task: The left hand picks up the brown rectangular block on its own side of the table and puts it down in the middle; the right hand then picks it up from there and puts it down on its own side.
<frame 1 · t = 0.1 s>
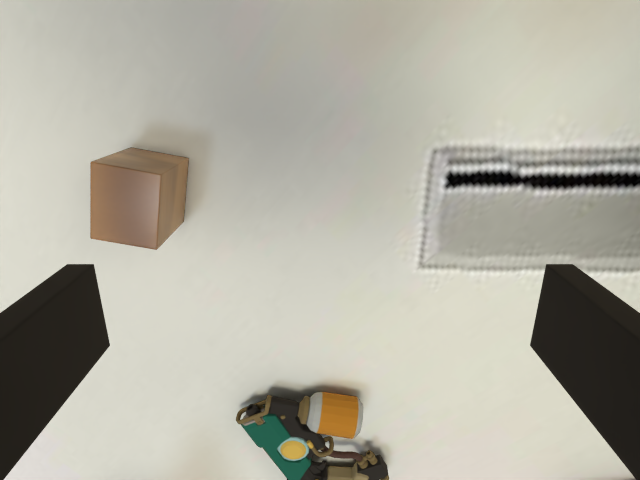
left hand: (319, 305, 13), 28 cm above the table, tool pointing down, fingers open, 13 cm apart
spray gun: (316, 436, 50), on the table
brown rectangular block: (158, 185, 40), on the table
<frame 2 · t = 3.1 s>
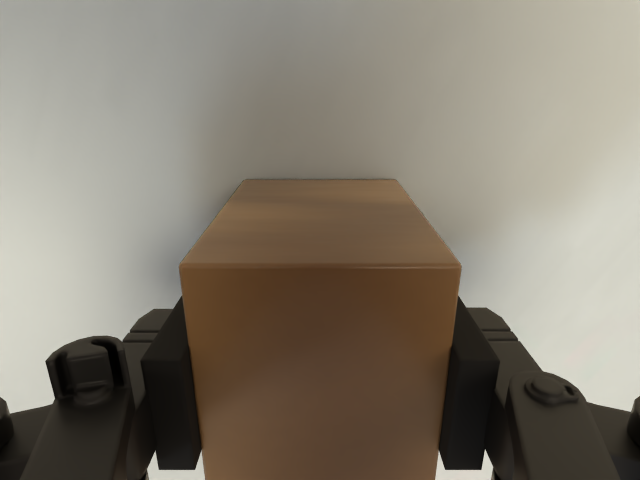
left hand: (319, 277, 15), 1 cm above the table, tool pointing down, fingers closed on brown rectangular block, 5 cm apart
brown rectangular block: (320, 262, 16), on the table, touching left hand
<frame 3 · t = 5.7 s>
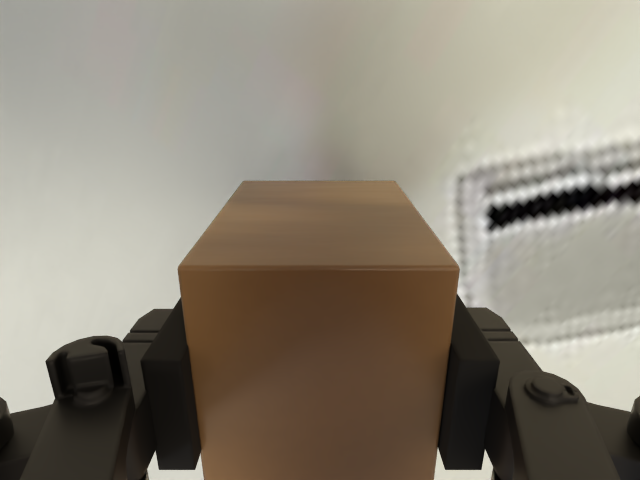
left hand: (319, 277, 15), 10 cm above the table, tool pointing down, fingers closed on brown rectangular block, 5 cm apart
brown rectangular block: (319, 263, 16), point 9 cm above the table, touching left hand
when the left hand's fingers open (3 cm above the table, at t = 8.3 s): brown rectangular block drops 2 cm, on the table.
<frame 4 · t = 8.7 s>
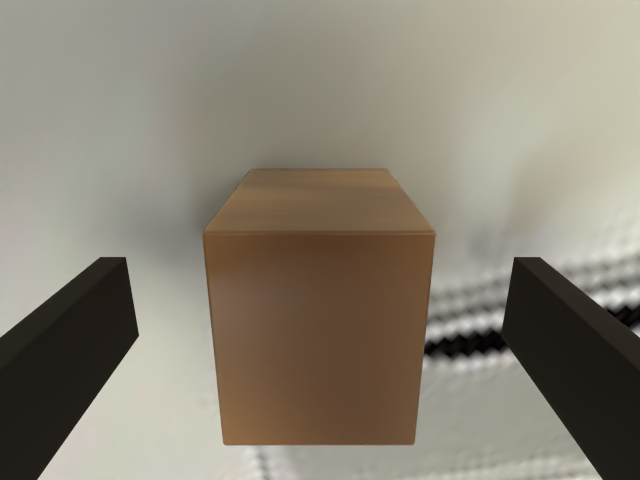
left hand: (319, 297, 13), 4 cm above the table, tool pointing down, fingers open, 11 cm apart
brown rectangular block: (319, 244, 17), on the table
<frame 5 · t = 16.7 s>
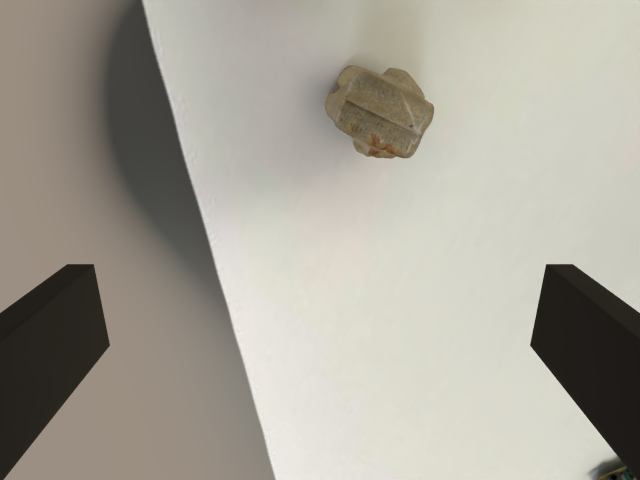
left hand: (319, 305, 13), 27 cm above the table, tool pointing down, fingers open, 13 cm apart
sculpture: (369, 106, 37), on the table
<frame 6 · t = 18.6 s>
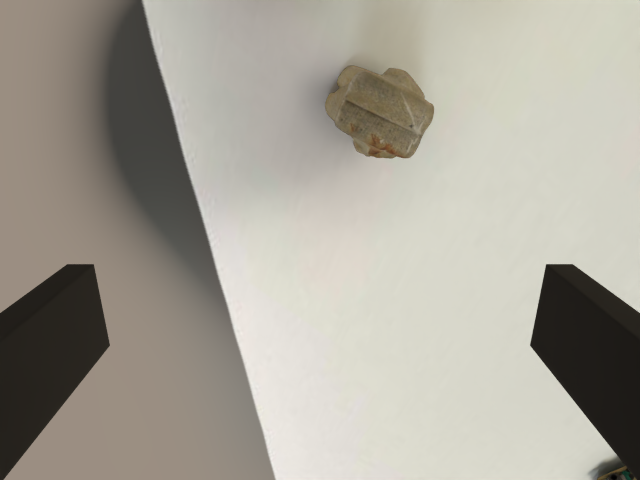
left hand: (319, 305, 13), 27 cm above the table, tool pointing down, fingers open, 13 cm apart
sculpture: (369, 106, 37), on the table
when the right hand's fingers open (3 cm above the table, at t = 21.0 s): brown rectangular block drops 2 cm, on the table.
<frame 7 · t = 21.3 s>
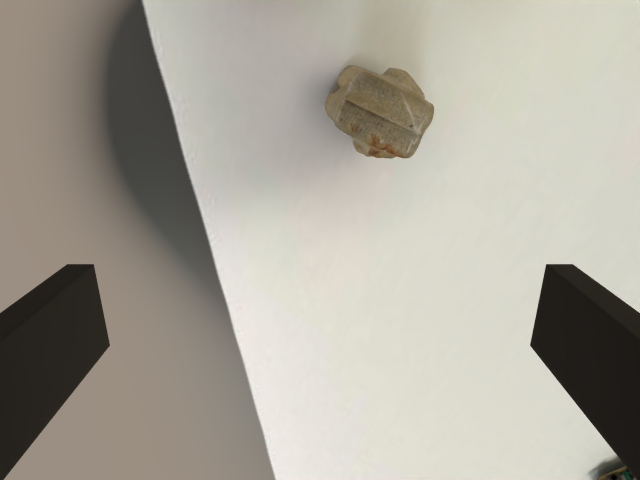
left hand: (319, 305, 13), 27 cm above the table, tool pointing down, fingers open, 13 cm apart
sculpture: (369, 106, 37), on the table
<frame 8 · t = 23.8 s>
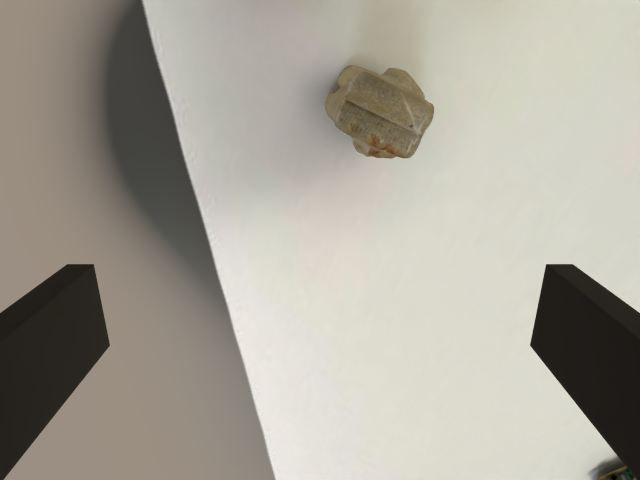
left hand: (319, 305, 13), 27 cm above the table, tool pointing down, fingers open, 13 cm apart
sculpture: (369, 106, 37), on the table
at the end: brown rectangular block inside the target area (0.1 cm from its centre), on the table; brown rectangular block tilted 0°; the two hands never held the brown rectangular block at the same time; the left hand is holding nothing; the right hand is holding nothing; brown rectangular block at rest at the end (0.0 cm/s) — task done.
